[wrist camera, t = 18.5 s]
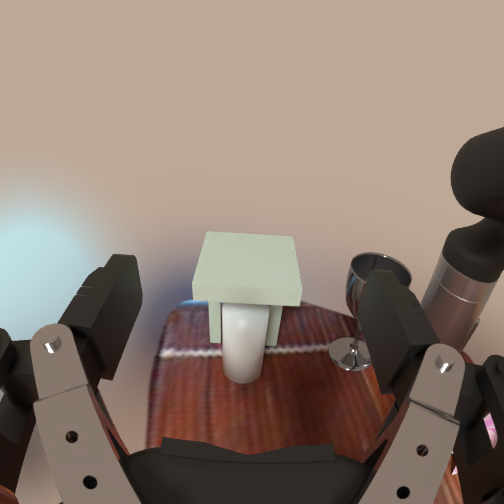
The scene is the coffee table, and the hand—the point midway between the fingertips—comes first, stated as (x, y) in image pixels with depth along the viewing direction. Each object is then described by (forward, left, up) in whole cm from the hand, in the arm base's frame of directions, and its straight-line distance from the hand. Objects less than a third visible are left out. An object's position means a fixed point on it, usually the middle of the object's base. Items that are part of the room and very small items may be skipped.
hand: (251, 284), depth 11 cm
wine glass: (-16, -21, -28) cm, 39 cm away
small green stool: (0, -19, -28) cm, 34 cm away
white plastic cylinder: (0, -18, -28) cm, 33 cm away
